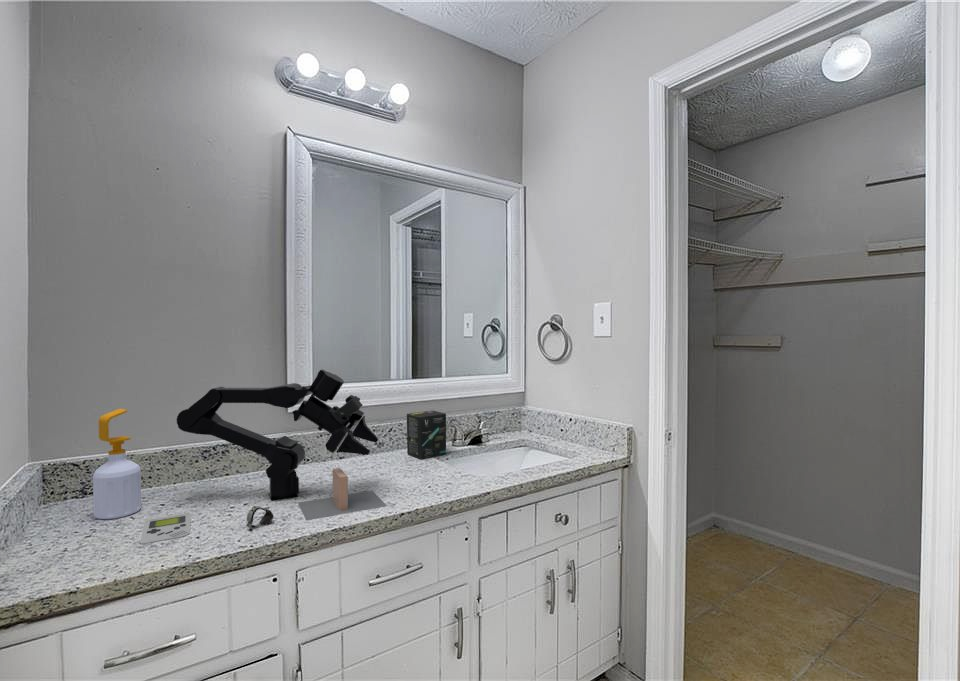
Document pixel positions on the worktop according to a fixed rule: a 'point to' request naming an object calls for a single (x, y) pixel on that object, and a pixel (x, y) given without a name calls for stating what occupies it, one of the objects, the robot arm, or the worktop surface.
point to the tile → (340, 489)
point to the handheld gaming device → (165, 528)
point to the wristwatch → (265, 519)
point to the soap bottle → (116, 477)
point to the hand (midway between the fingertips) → (373, 446)
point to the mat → (329, 508)
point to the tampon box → (426, 434)
